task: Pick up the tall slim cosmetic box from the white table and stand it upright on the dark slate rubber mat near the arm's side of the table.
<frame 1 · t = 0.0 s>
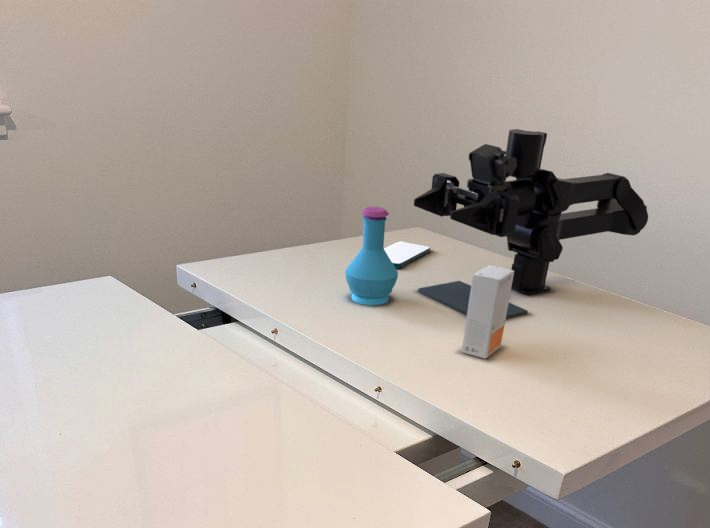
hand: (432, 208, 114), 17 cm above the table, tool horizontal, fingers open, 9 cm apart
cosmetic box: (481, 351, 111), on the table
side mat: (470, 302, 128), on the table
perfume bottle: (370, 299, 127), on the table
smartphone: (398, 257, 149), on the table
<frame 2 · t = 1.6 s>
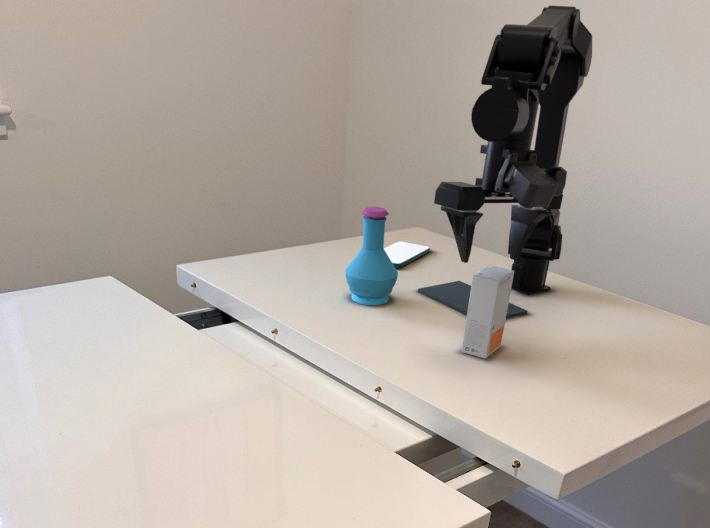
hand: (489, 260, 103), 13 cm above the table, tool pointing down, fingers open, 9 cm apart
nothing on the table moved.
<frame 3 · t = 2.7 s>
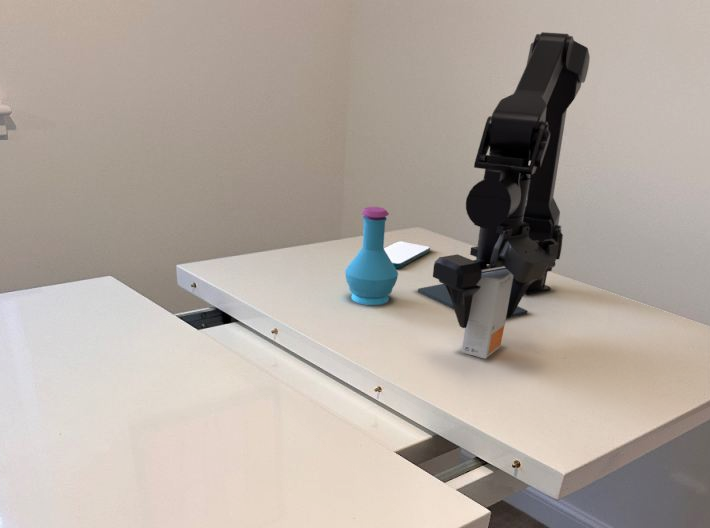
hand: (485, 322, 108), 4 cm above the table, tool pointing down
cosmetic box: (481, 351, 111), on the table, touching gripper
everything else where it was.
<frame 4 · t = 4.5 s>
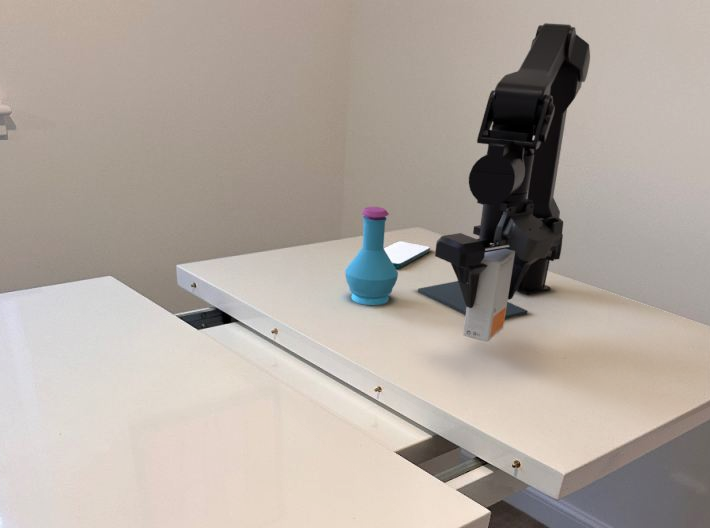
hand: (489, 302, 106), 7 cm above the table, tool pointing down, fingers closed on cosmetic box, 7 cm apart
cosmetic box: (483, 333, 109), point 3 cm above the table, touching gripper
everything else where it was.
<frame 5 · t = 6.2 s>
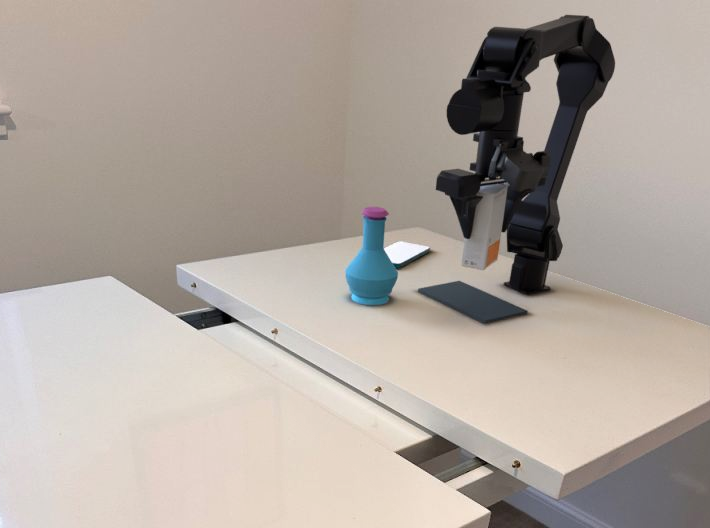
hand: (484, 235, 117), 13 cm above the table, tool pointing down, fingers closed on cosmetic box, 7 cm apart
cosmetic box: (479, 264, 120), point 8 cm above the table, touching gripper
everything else where it was.
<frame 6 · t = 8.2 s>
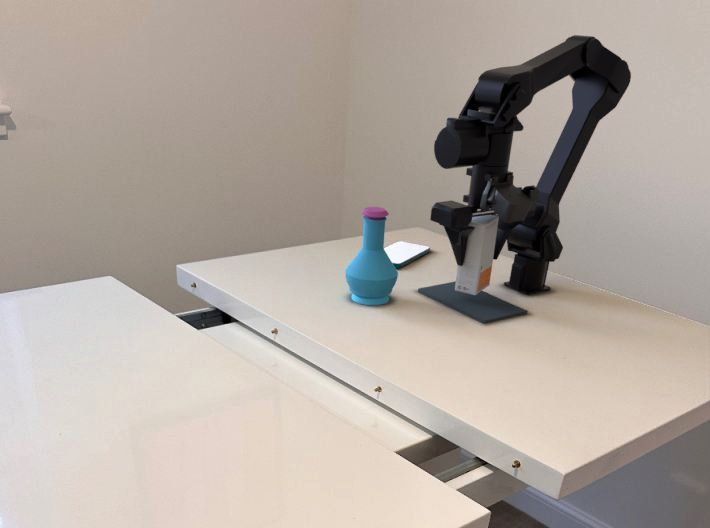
hand: (477, 262, 124), 7 cm above the table, tool pointing down, fingers closed on cosmetic box, 7 cm apart
cosmetic box: (472, 289, 127), point 2 cm above the table, touching gripper
everything else where it was.
when the fingers open (5 cm above the table, at t = 9.8 s): cosmetic box stays where it is, resting on side mat.
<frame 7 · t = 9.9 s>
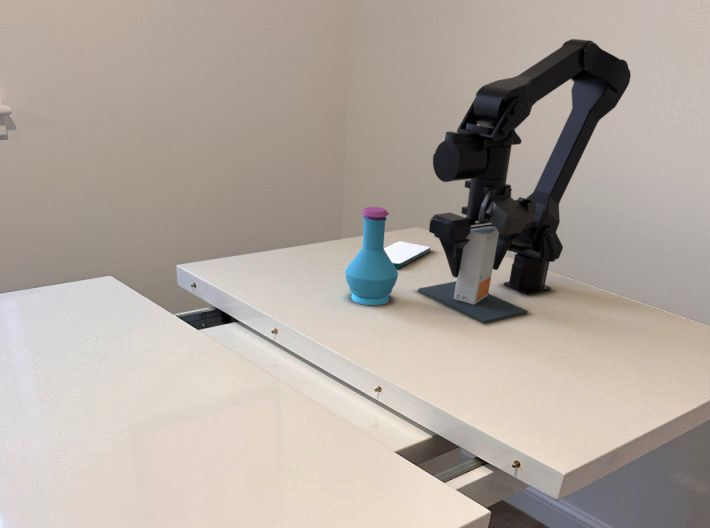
hand: (475, 273, 125), 5 cm above the table, tool pointing down, fingers open, 9 cm apart
cosmetic box: (471, 299, 128), resting on side mat, touching gripper
everything else where it was.
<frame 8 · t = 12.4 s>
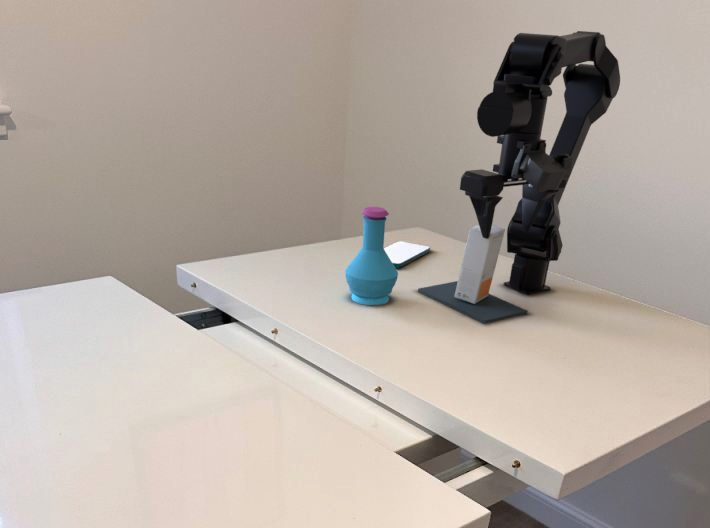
hand: (505, 235, 120), 12 cm above the table, tool pointing down, fingers open, 9 cm apart
at the end: cosmetic box inside the target area on the side mat (0.4 cm from its centre), point 0.7 cm above the side mat's base; cosmetic box tilted 5°; the gripper is holding nothing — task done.
